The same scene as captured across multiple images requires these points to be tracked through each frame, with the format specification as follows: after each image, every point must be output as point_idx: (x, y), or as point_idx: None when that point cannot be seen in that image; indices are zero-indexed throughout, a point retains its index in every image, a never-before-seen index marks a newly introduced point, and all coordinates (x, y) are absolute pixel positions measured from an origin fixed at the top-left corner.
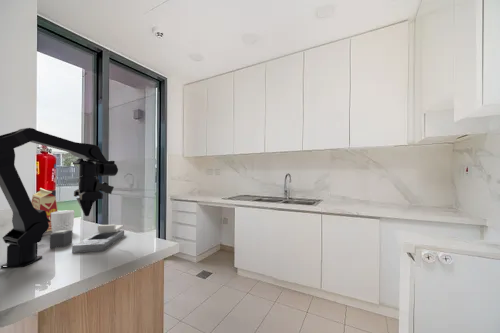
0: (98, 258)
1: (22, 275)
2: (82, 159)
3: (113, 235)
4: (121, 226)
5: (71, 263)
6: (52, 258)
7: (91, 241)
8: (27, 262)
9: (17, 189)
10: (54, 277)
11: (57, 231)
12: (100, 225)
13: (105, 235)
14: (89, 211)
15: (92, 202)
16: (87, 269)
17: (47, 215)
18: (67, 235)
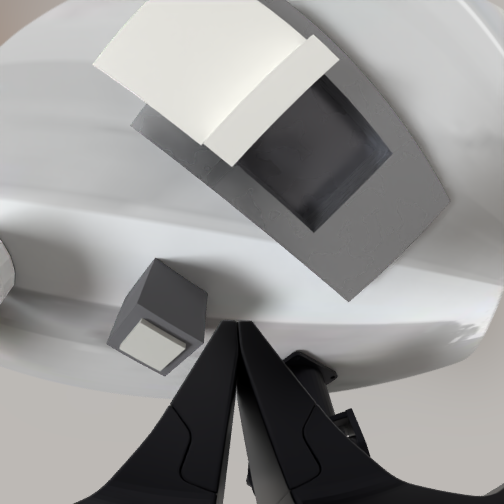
0: (465, 229)
1: (389, 367)
2: None
3: (353, 91)
4: None
5: (429, 292)
6: (333, 330)
7: (366, 227)
8: (324, 375)
9: None
10: (458, 321)
11: (144, 360)
12: (230, 142)
13: None
14: (282, 366)
15: (385, 491)
16: (488, 269)
17: None
18: (179, 313)
